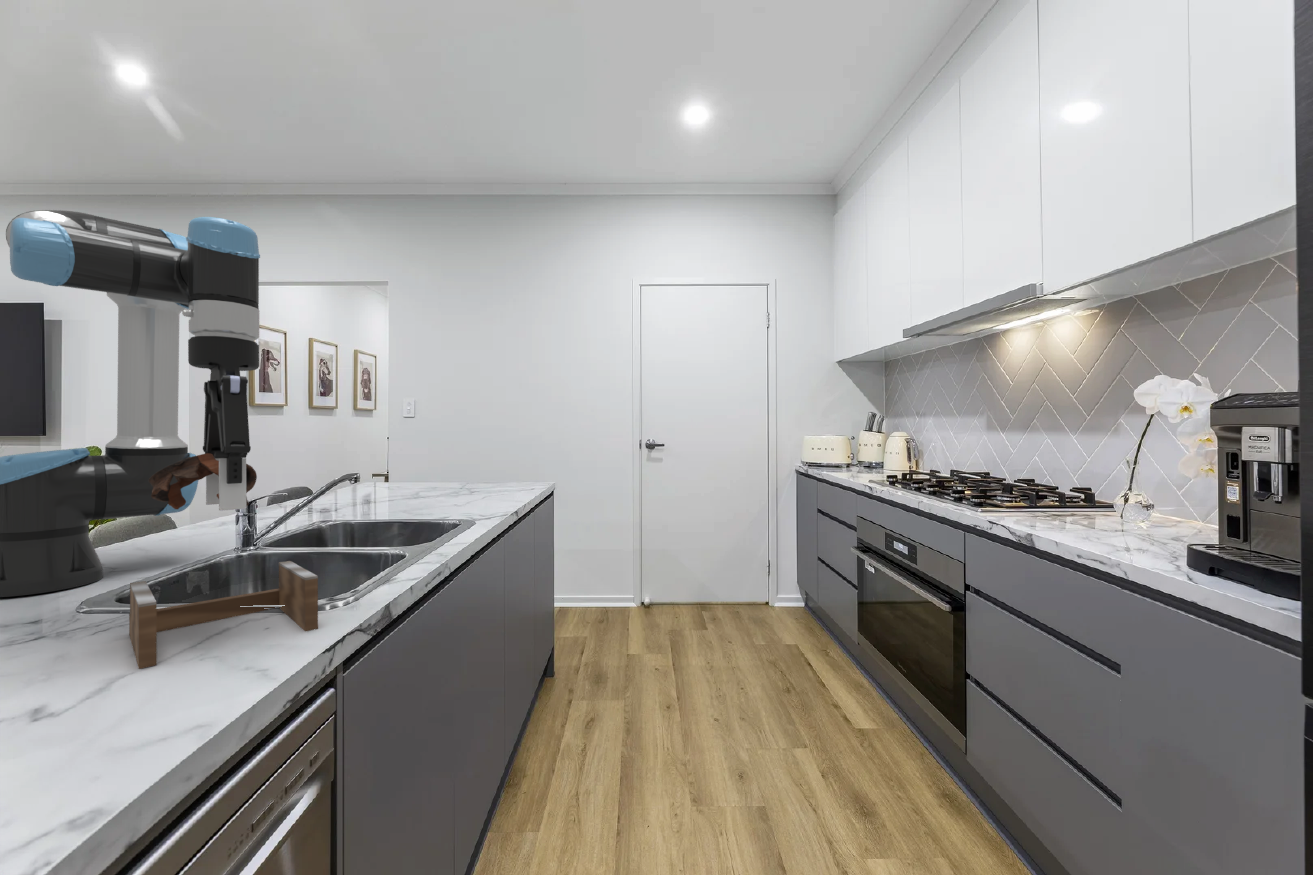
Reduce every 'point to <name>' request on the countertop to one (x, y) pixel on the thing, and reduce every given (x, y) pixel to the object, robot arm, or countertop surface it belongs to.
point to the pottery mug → (189, 478)
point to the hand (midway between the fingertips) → (225, 506)
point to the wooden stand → (220, 609)
